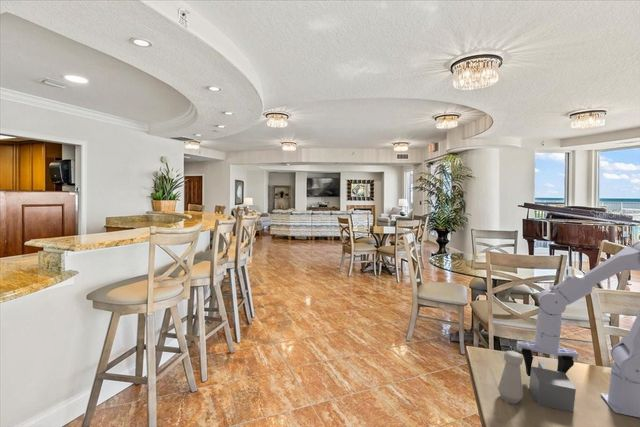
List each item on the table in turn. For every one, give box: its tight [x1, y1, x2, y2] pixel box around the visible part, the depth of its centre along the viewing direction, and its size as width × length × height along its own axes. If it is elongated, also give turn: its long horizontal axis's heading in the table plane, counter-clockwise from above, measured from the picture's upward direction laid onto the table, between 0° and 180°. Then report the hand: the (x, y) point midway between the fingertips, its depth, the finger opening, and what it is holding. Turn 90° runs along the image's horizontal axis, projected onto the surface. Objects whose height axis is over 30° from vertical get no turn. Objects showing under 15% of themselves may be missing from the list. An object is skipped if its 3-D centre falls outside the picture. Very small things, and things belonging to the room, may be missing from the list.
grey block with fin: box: [528, 360, 577, 413], centre depth 92 cm, size 14×8×6 cm, turn 160°
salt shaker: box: [497, 350, 524, 405], centre depth 88 cm, size 6×6×13 cm
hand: (543, 377), depth 96 cm, fingers open, 7 cm apart
